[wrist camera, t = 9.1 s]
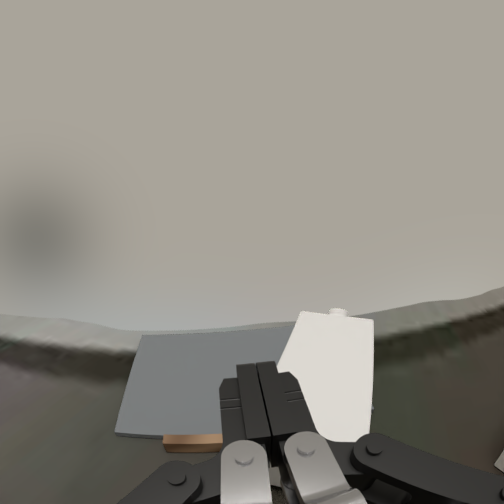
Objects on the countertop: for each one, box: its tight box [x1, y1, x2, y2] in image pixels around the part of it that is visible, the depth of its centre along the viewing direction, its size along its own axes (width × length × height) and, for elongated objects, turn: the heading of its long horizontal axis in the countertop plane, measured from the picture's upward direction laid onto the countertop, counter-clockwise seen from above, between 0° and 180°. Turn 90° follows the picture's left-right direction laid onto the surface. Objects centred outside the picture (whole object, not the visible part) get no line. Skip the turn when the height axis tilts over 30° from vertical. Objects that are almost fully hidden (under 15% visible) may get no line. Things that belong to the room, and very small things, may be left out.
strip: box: [163, 434, 223, 452], centre depth 20 cm, size 14×1×2 cm, turn 97°
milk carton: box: [269, 308, 374, 487], centre depth 23 cm, size 7×7×19 cm
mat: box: [114, 325, 374, 439], centre depth 29 cm, size 24×16×1 cm, turn 97°
